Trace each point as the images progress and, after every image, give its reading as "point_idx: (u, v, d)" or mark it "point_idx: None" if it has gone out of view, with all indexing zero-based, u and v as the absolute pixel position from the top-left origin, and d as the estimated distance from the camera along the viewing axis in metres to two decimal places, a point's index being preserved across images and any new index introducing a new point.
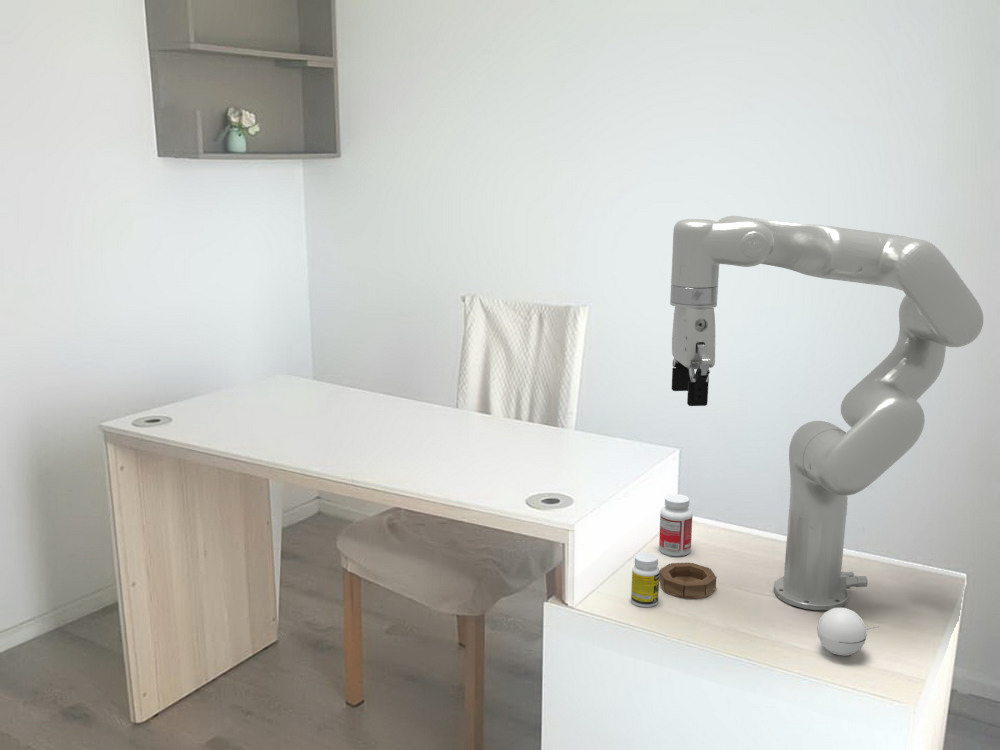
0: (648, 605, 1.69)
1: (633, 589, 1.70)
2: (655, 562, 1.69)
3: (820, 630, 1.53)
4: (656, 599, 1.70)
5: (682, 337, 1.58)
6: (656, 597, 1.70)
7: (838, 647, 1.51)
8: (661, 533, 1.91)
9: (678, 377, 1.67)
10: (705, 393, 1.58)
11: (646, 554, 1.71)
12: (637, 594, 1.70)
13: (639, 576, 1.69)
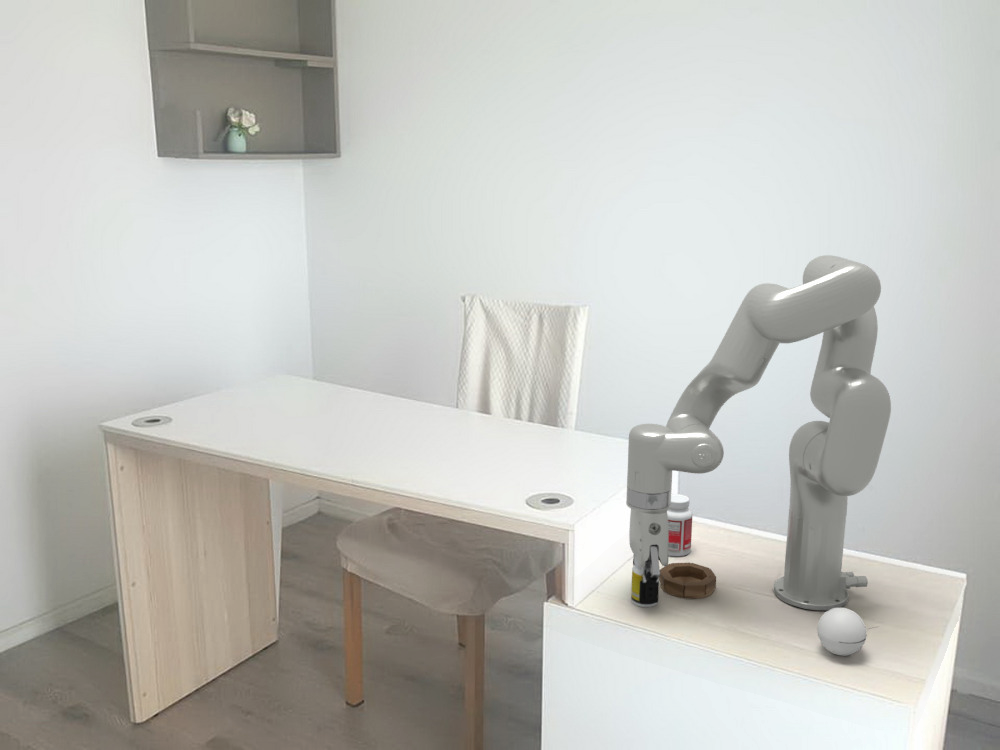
0: (648, 605, 1.69)
1: (633, 589, 1.70)
2: None
3: (820, 630, 1.53)
4: None
5: (637, 537, 1.66)
6: None
7: (838, 647, 1.51)
8: None
9: None
10: (656, 591, 1.68)
11: None
12: (636, 594, 1.70)
13: (639, 576, 1.69)
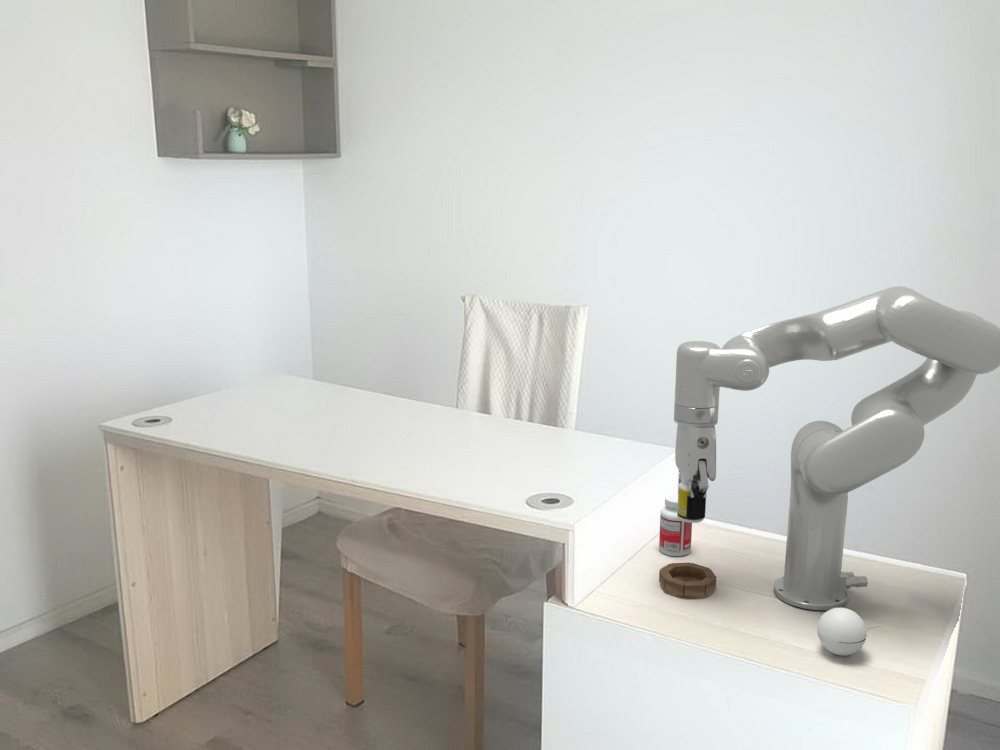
0: (695, 521, 1.72)
1: (680, 505, 1.73)
2: None
3: (820, 630, 1.53)
4: None
5: (685, 452, 1.68)
6: None
7: (838, 647, 1.51)
8: (661, 533, 1.91)
9: None
10: (703, 507, 1.71)
11: None
12: (683, 510, 1.72)
13: (686, 492, 1.71)
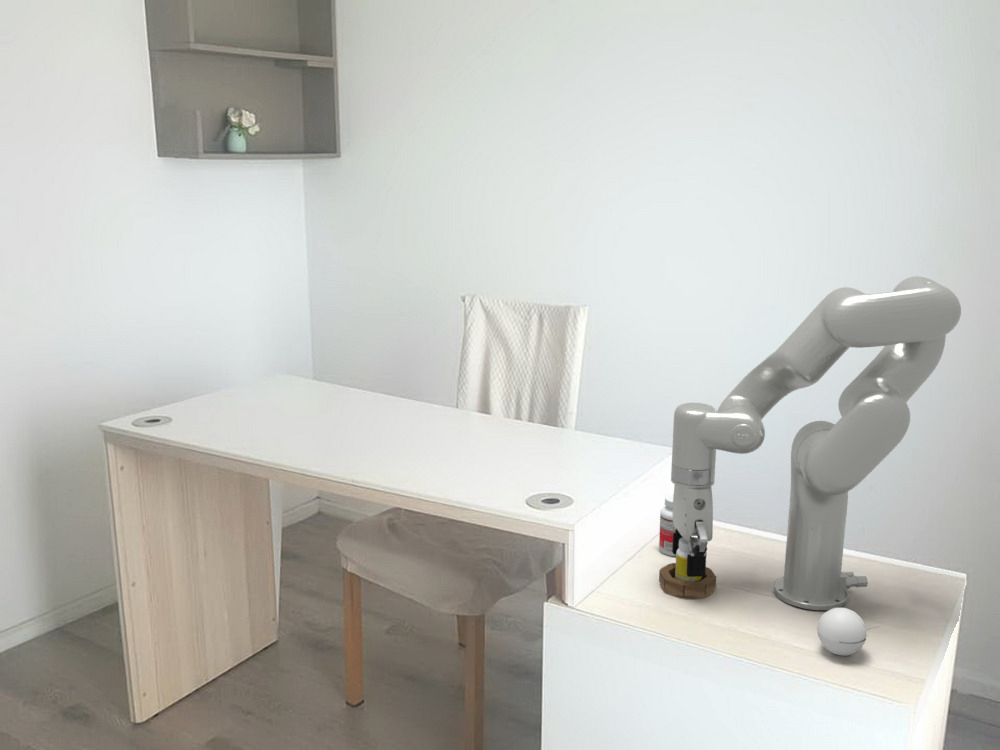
0: None
1: (677, 572, 1.76)
2: None
3: (820, 630, 1.53)
4: None
5: (682, 513, 1.71)
6: (700, 579, 1.75)
7: (838, 647, 1.51)
8: (661, 533, 1.91)
9: (678, 542, 1.80)
10: (703, 565, 1.71)
11: None
12: (681, 577, 1.75)
13: (683, 559, 1.74)
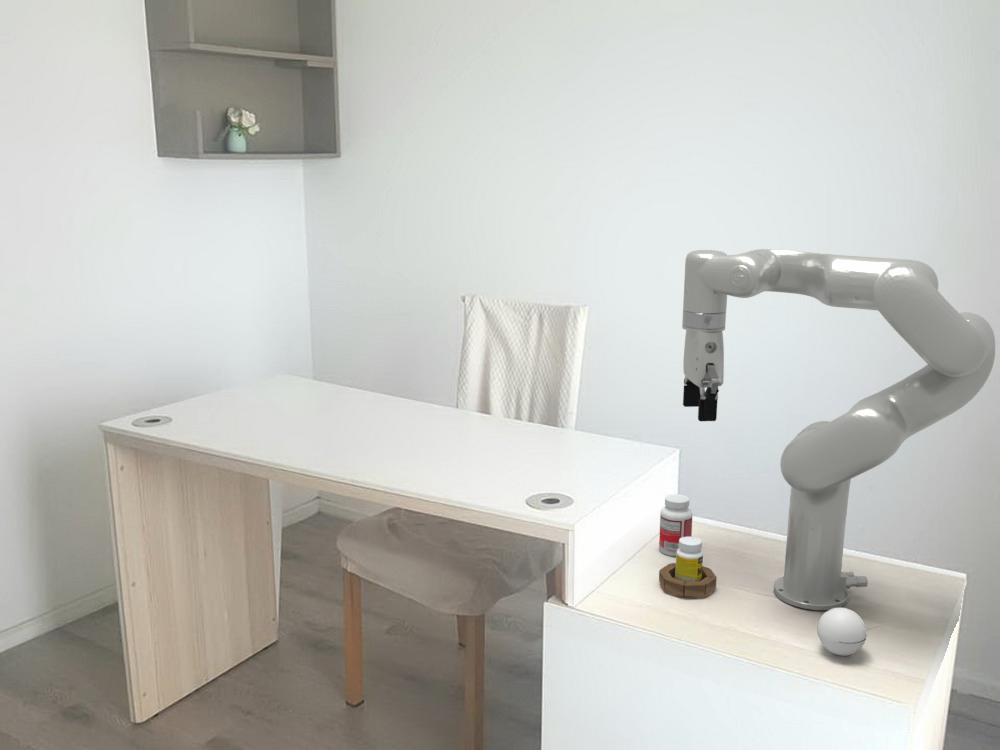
0: None
1: (677, 572, 1.76)
2: (699, 545, 1.74)
3: (820, 630, 1.53)
4: None
5: (693, 358, 1.73)
6: (700, 579, 1.75)
7: (838, 647, 1.51)
8: (661, 533, 1.91)
9: (689, 394, 1.82)
10: (714, 409, 1.73)
11: (690, 538, 1.76)
12: (681, 577, 1.75)
13: (683, 559, 1.74)
